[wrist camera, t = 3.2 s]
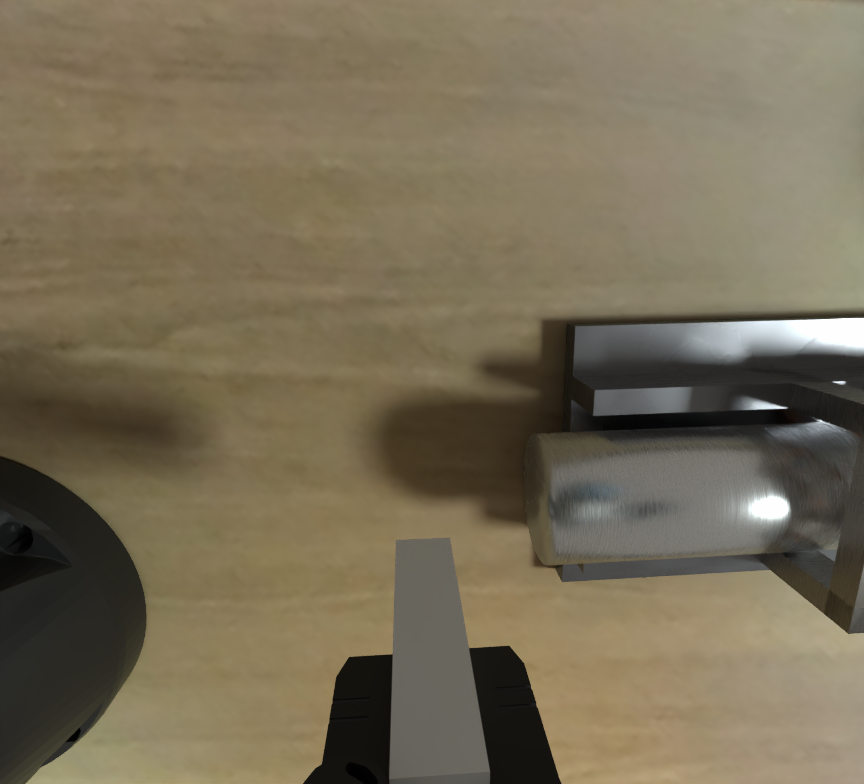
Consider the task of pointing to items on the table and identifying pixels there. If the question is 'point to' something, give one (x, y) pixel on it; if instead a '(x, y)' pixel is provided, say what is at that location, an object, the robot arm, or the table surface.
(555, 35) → the table surface
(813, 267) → the table surface
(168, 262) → the table surface
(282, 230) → the table surface
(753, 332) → the grey slotted rack
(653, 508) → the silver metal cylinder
